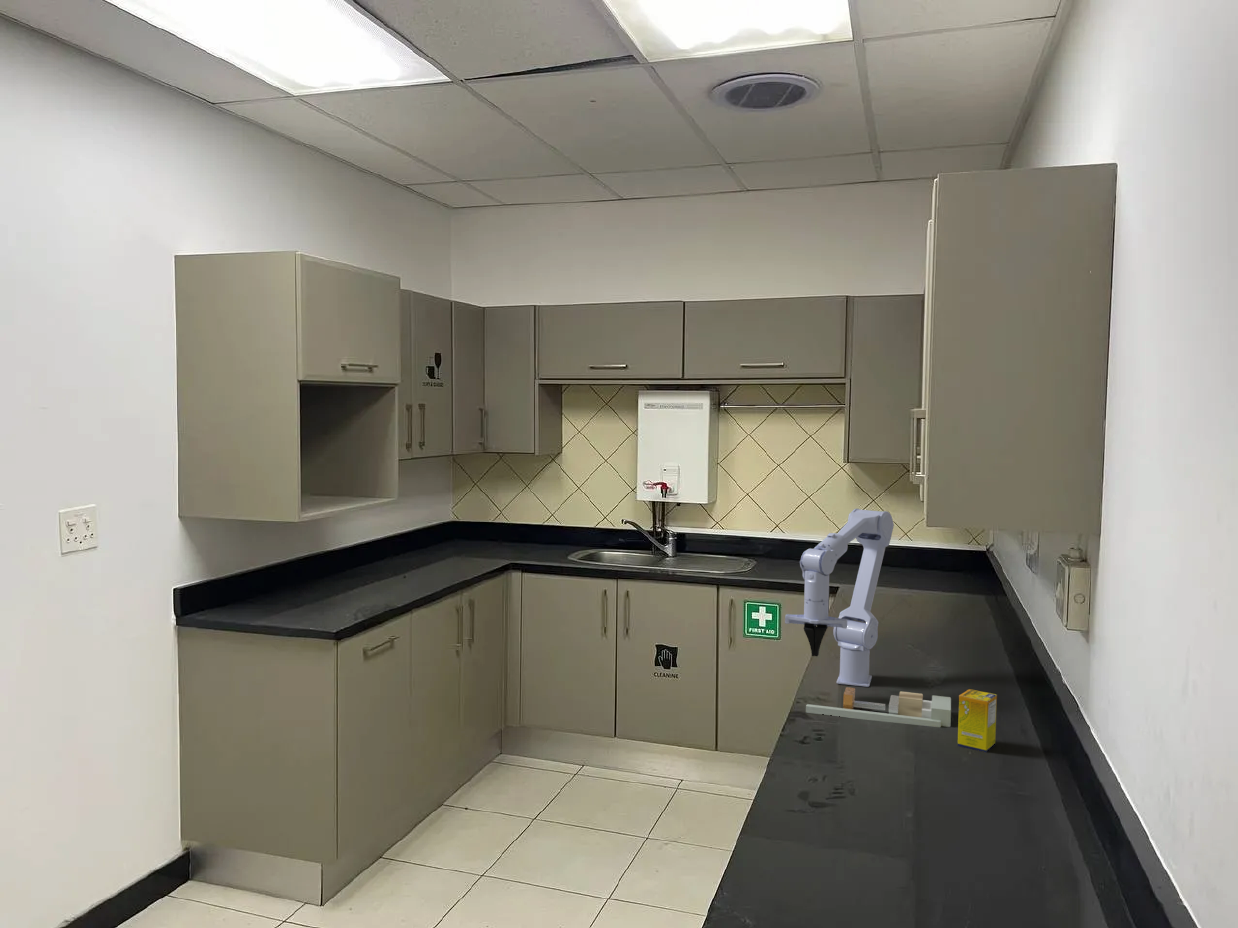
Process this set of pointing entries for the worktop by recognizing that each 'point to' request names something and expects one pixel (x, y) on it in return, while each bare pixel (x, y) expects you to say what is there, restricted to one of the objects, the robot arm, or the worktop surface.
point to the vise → (932, 715)
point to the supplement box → (977, 720)
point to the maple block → (910, 704)
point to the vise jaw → (851, 703)
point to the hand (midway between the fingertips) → (815, 655)
